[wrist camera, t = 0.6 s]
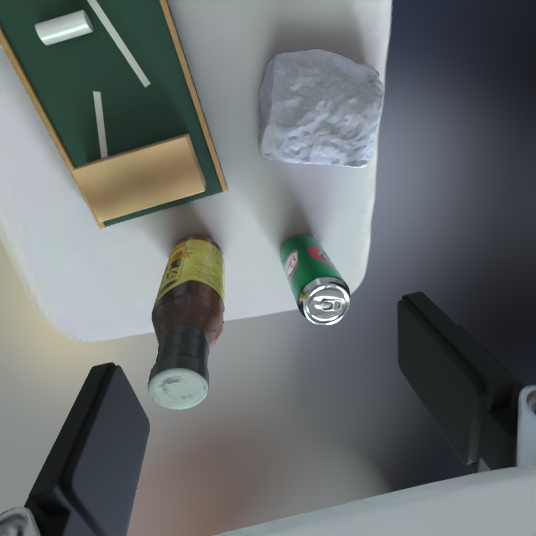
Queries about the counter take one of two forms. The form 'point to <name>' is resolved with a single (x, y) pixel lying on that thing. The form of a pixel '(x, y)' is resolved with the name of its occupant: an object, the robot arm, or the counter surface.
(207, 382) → the sauce bottle
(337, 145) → the stone block
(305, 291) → the soda can
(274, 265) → the counter surface
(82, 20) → the chalk stick
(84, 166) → the eraser
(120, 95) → the chalkboard
